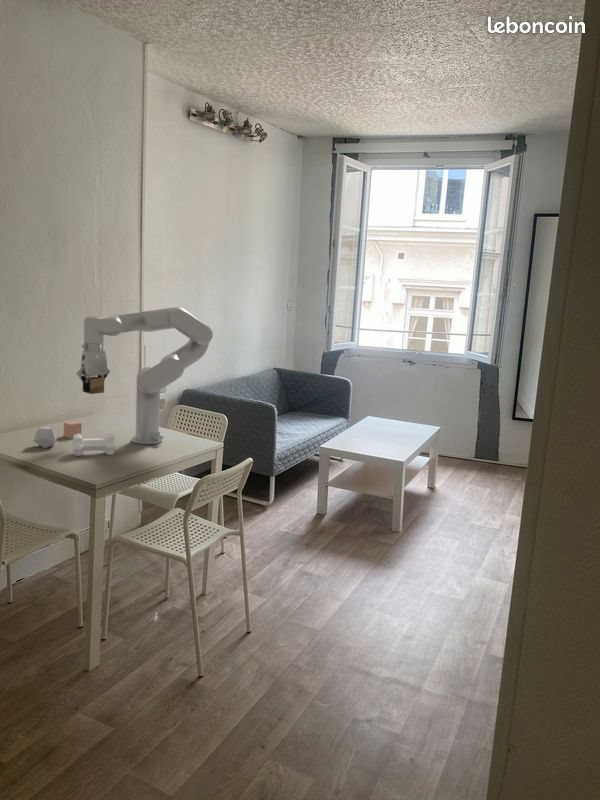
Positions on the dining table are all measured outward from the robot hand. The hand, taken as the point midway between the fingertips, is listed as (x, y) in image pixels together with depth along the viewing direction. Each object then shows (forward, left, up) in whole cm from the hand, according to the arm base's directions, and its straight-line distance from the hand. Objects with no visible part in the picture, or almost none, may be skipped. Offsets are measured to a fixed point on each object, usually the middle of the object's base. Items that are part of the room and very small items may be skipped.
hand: (93, 390), depth 257 cm
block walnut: (0, 0, -1) cm, 1 cm away
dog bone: (-16, +12, -22) cm, 30 cm away
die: (+4, +19, -22) cm, 29 cm away
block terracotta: (+11, +2, -21) cm, 24 cm away
